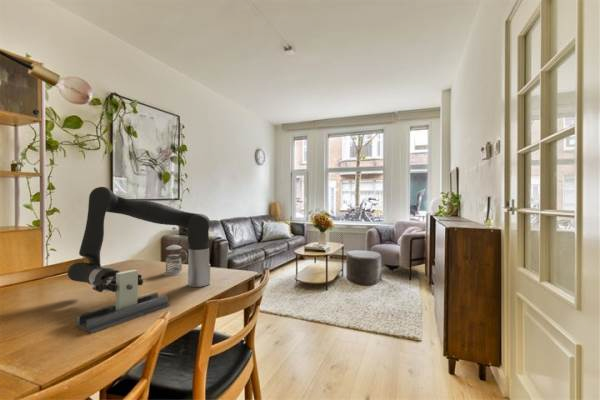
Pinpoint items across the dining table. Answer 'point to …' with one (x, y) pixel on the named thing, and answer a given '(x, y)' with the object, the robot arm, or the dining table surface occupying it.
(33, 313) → the dining table surface
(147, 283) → the dining table surface
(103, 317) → the track
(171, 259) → the french press
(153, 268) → the dining table surface
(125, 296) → the door panel
